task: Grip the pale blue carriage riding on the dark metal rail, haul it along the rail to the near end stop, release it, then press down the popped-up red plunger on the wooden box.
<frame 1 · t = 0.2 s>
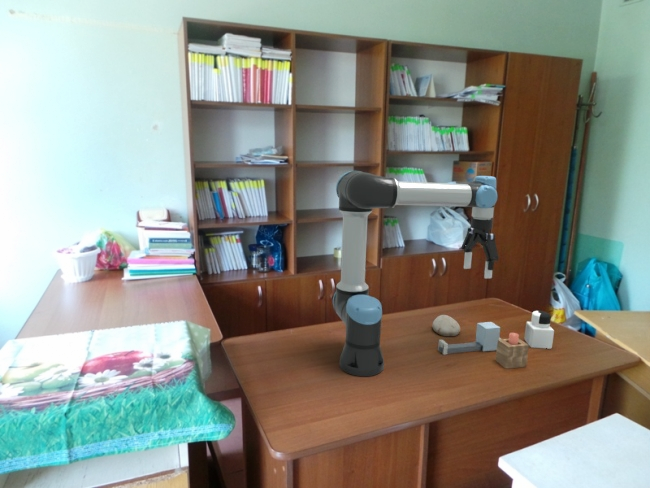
hand: (477, 273, 170), 27 cm above the table, fingers open, 13 cm apart
wooden box: (510, 363, 156), on the table
plunger: (512, 345, 155), point 7 cm above the table, slide at 0.0 cm
container: (537, 344, 173), on the table
rail: (469, 349, 166), on the table
carriage: (487, 336, 167), point 5 cm above the table, slide at 7.0 cm
stone: (445, 331, 184), on the table
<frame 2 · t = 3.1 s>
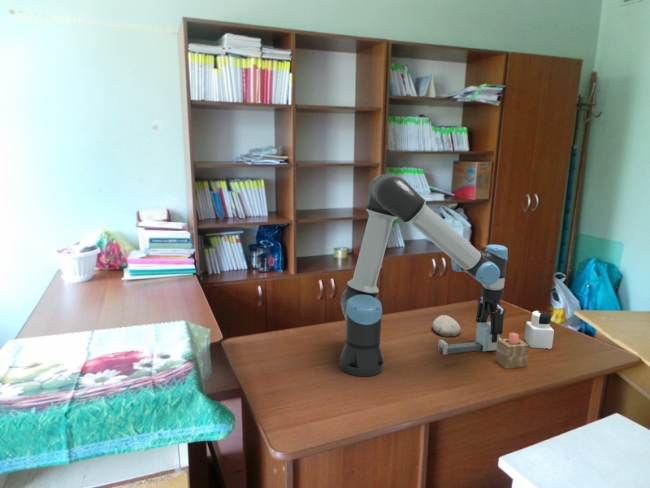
hand: (486, 345, 168), 1 cm above the table, fingers closed on carriage, 6 cm apart
carriage: (487, 336, 167), point 5 cm above the table, slide at 7.0 cm, touching gripper
everything else where it was.
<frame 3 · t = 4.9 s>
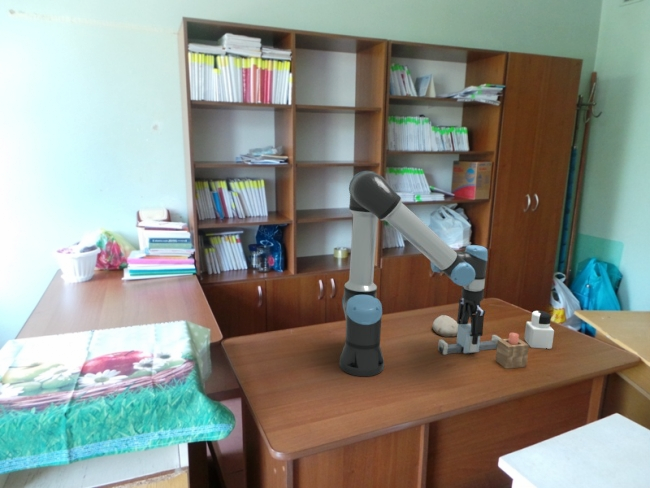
hand: (467, 347, 166), 1 cm above the table, fingers closed on carriage, 6 cm apart
carriage: (468, 338, 165), point 5 cm above the table, slide at -1.1 cm, touching gripper
everything else where it was.
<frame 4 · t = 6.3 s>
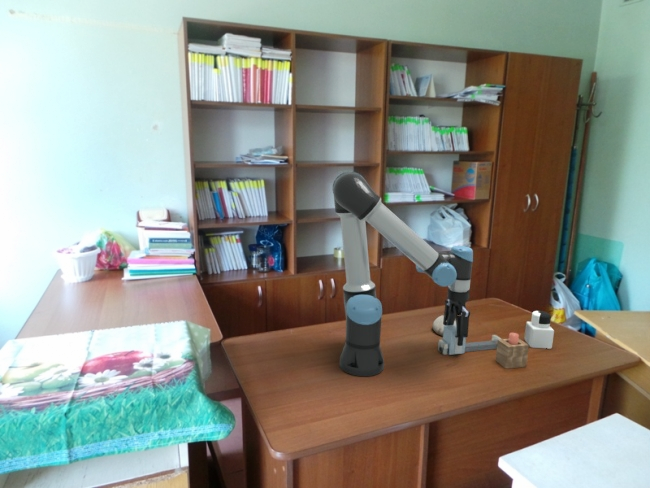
hand: (453, 349, 165), 1 cm above the table, fingers closed on carriage, 6 cm apart
carriage: (454, 339, 164), point 5 cm above the table, slide at -7.0 cm, touching gripper
everything else where it was.
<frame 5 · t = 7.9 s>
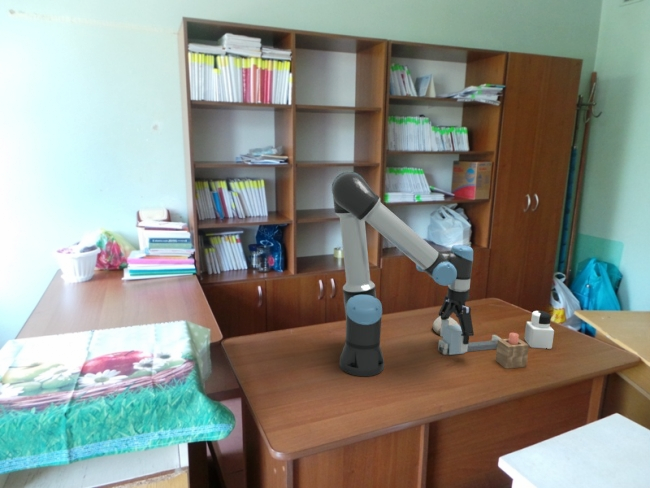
hand: (453, 343, 164), 3 cm above the table, fingers open, 13 cm apart
carriage: (454, 339, 164), point 5 cm above the table, slide at -7.0 cm
everything else where it was.
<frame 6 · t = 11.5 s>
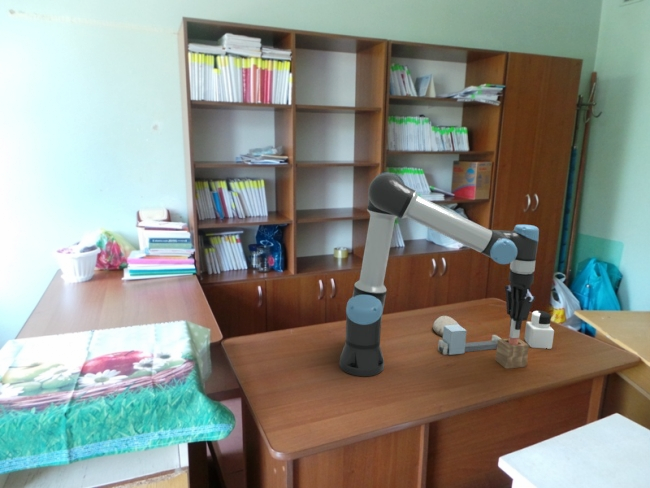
hand: (514, 336, 154), 10 cm above the table, fingers closed
plunger: (512, 348, 155), point 6 cm above the table, slide at -1.3 cm, touching gripper
everything else where it was.
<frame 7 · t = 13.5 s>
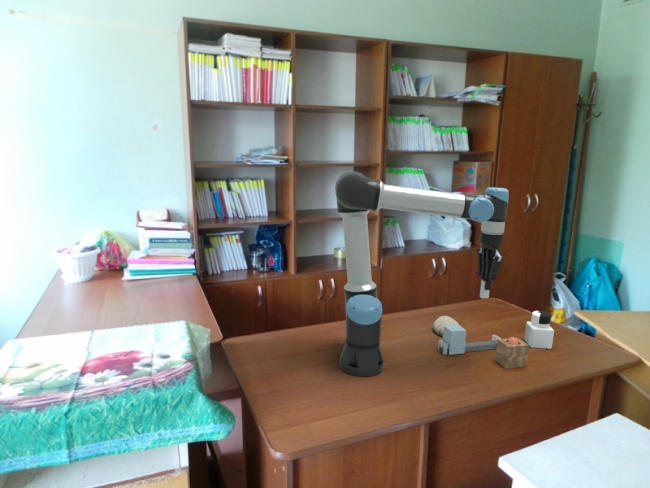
hand: (484, 297, 159), 21 cm above the table, fingers closed
plunger: (512, 349, 155), point 5 cm above the table, slide at -1.7 cm
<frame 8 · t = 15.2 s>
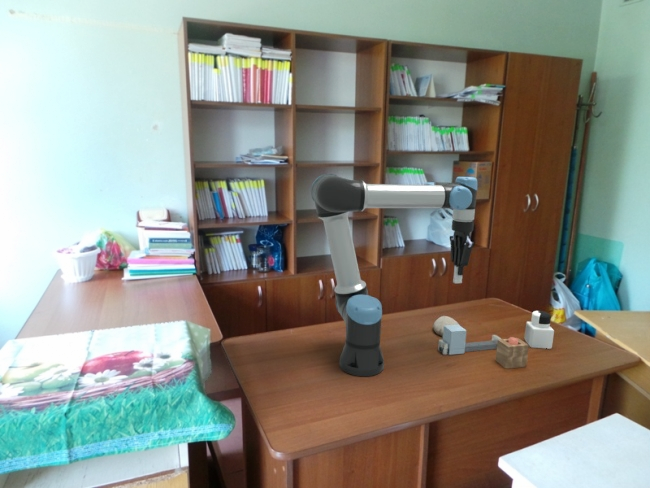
hand: (457, 282, 166), 24 cm above the table, fingers closed
at the end: carriage slide at -7.0 cm; plunger slide at -1.7 cm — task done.
